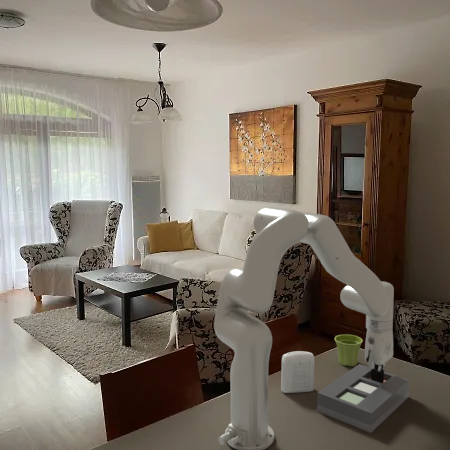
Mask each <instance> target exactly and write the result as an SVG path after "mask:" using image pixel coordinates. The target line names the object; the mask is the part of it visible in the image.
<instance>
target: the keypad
mask: <svg viewBox="0 0 450 450" xmlns="http://www.w3.org/2000/svg"><path fill="white" fill-rule="evenodd" d="M371 371H372V370H371V369H370V368H368V365H364V364H360V363H358V364H356V365H355V366H353V368H351V369H350V370H348V371H347V372H346V373H344V374H343V375H341V376H340V377H338V378H336V379H335V380H334V381H333V382H331V383H330V384H328V385H326V386H325V387H324V388H322V389H321V390H319V391H318V392H317V393H316V397H317V398H316V399H317V400H316V403H317V405H316V411H317V412H319V413H321V414H322V415H323V414H324V415H326V416H328V417H330V418H333V419H335V420H338V421H340V422H343V423H345V424H348V425H349V426H353V427H355V428H357V429H360V430H362V431H365V432H368V433H370V434H372V433H373V432H374V431H375V430H376V429H377V428H378V427H380V425H381V424H383V422H384V421H385V420H386V419H388V417H389V416H391V414H393V412H395V411H396V410H397V409H398V408H399V407H400V406H401V405H402V404H403V403H404V402H405V401H406V400H407V399H409V397H410V383H411V382H410V379H409V378H407V377H403V376H400V375H397V374H393V373H389V372H387V371H384V380H386V381H385V382H384V383H383V384H382V383H379V382H376V381H373V380H370V379H369V378H371ZM360 382H362V383H365V384H368V385H371V386H374V387H377V389H376V390H374V391H373V392H372V393H371V394H370V393H367V392H364V391H361V390H358V389H355V388H353V387H354V386H356V385H357V384H358V383H360ZM346 392H349V393H352V394H355V395H357V396H360V397H363V398H364V399H363V400H362V401H361V402H360V403H358V404H357V405H356V404H353V403H350V402H348V401H345V400H342V399H340V397H341V396H342V395H344V394H345V393H346Z"/></svg>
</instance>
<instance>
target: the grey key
mask: <svg viewBox="0 0 450 450" xmlns="http://www.w3.org/2000/svg"><path fill="white" fill-rule="evenodd" d="M353 388H355V389H358V390H361V391H364V392H367V393H370V394H371V393H372V392H373V391H374V390H376V389H377V387H374V386H371V385H368V384H365V383H362V382H360V383H358V384H357V385H356V386H354V387H353Z"/></svg>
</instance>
